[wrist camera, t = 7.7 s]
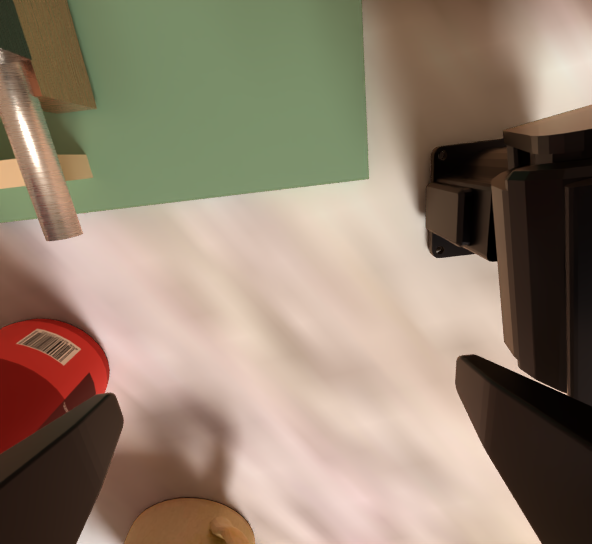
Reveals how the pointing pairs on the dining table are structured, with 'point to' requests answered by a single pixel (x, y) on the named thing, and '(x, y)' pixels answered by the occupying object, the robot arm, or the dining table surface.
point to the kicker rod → (41, 101)
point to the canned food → (45, 375)
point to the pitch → (206, 103)
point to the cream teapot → (190, 524)
